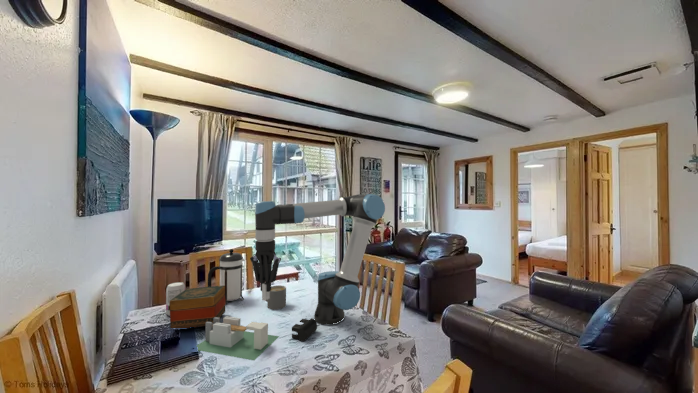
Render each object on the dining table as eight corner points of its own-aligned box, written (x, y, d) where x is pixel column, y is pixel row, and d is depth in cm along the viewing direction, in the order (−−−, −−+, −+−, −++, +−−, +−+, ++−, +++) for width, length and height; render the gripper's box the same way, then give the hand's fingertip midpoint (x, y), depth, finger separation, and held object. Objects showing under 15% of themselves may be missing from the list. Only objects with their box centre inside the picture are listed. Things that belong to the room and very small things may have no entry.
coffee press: (224, 295, 170) (225, 246, 170) (249, 296, 168) (249, 247, 168) (206, 305, 153) (207, 251, 153) (233, 307, 150) (233, 252, 151)
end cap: (305, 345, 112) (305, 329, 113) (291, 342, 115) (291, 325, 115) (317, 334, 122) (317, 319, 122) (303, 331, 124) (303, 316, 124)
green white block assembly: (279, 339, 117) (279, 317, 117) (254, 363, 100) (254, 338, 100) (223, 330, 124) (223, 310, 125) (191, 352, 107) (191, 328, 107)
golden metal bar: (247, 329, 112) (247, 325, 112) (243, 332, 110) (243, 328, 110) (213, 325, 117) (213, 321, 117) (209, 327, 114) (209, 324, 114)
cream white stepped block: (267, 343, 111) (267, 323, 111) (260, 349, 106) (260, 329, 107) (252, 340, 113) (252, 321, 113) (245, 347, 108) (245, 326, 108)
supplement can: (162, 315, 140) (162, 285, 141) (177, 309, 148) (177, 281, 148) (173, 317, 137) (173, 287, 137) (188, 311, 145) (188, 283, 145)
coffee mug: (289, 304, 155) (289, 286, 155) (278, 311, 146) (278, 292, 146) (270, 300, 161) (270, 283, 161) (258, 306, 152) (258, 288, 152)
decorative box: (212, 335, 122) (217, 297, 123) (160, 332, 120) (165, 294, 121) (229, 318, 142) (232, 285, 143) (185, 315, 140) (189, 282, 142)
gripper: (284, 239, 111) (285, 297, 111) (257, 238, 115) (257, 294, 115) (274, 242, 104) (275, 304, 104) (245, 240, 107) (245, 301, 107)
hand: (265, 299), depth 109 cm, fingers closed
